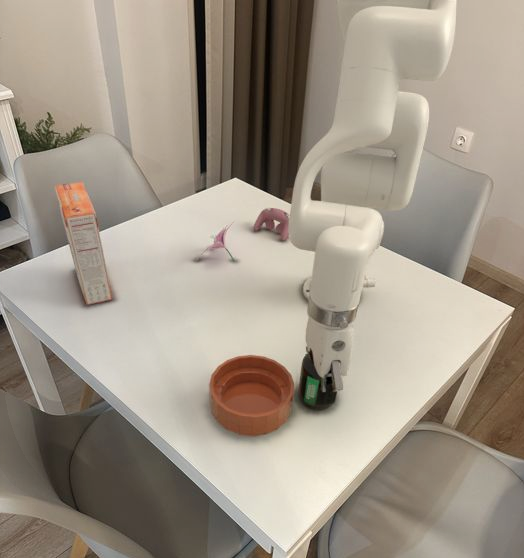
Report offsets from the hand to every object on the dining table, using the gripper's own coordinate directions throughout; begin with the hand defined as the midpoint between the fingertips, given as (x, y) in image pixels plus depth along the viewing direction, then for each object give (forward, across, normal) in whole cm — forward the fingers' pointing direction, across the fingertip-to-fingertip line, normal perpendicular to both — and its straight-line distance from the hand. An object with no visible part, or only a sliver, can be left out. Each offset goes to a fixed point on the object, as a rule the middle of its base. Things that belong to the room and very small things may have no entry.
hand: (318, 385), depth 90 cm
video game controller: (+3, +58, -5) cm, 58 cm away
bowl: (+3, 0, +12) cm, 12 cm away
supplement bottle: (+3, 0, 0) cm, 3 cm away
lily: (+3, +48, +11) cm, 49 cm away
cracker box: (+3, +40, +40) cm, 57 cm away
